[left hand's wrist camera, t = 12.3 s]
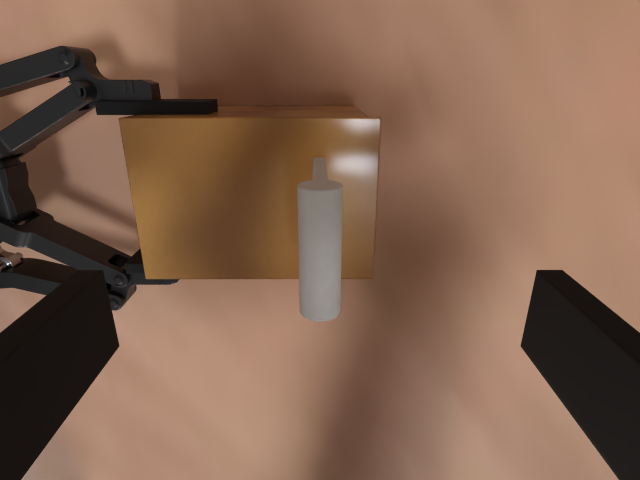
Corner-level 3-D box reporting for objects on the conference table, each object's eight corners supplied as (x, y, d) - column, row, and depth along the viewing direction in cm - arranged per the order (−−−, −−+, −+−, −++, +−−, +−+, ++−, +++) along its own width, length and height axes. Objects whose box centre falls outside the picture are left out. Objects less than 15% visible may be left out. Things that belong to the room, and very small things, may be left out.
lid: (379, 116, 23) (412, 138, 15) (371, 272, 27) (394, 359, 19) (125, 116, 23) (19, 138, 15) (150, 273, 27) (76, 360, 19)
